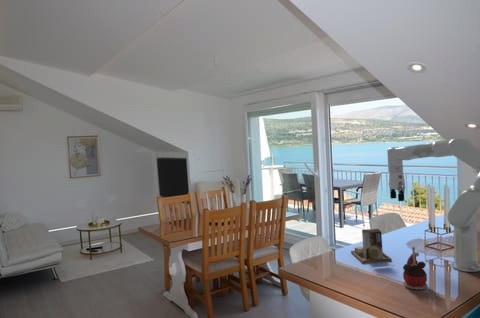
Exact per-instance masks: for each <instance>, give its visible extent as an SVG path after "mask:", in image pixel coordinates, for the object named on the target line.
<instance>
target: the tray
mask: <svg viewBox="0 0 480 318" xmlns="http://www.w3.org/2000/svg"><path fill="white" fill-rule="evenodd" d="M350 254H351V255H352V256H353V257H354V258H355V259H356V260H358V261H359V262H360V264H373V263H374V264H375V263H385V262H386V263H387V262H389V263H390V262H392V261H393V259H392V258H391V257H390V256H389V255H387V254H386V253H385V252H383V258H382V259H370V260H365V258H364V255H363V256H358V255H357V254H356V253H355V250H351V251H350Z"/></svg>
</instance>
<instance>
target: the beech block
mask: <svg viewBox="0 0 480 318" xmlns="http://www.w3.org/2000/svg"><path fill="white" fill-rule="evenodd" d="M354 251H355V253H356V254H357V255H358V256H363V255H364V252H363V246H360V245H359V246H355V247H354Z"/></svg>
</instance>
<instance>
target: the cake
mask: <svg viewBox="0 0 480 318" xmlns="http://www.w3.org/2000/svg"><path fill="white" fill-rule="evenodd" d="M411 250H412V253H411V254H410V256H409V257H408V259H407V260H406V263H405V264H404V265H403V266H402V267H403V268H402V269H403V274H402V276H403V280H404V281H403V285H404V287H406V288H408V289H411V290H412V289H413V290H423V289H424V290H425V289H426V288H428V284H427V282H428V281H427V280H428V276H427V275H428V274H427V273H426V271H425V267H426V263H425V262H424V261H421V260H420V261H418V260H417V257H419V256H420V253H419V252H418V251H416V250H415V247H414V246H412V249H411Z"/></svg>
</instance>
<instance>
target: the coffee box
mask: <svg viewBox="0 0 480 318" xmlns="http://www.w3.org/2000/svg"><path fill="white" fill-rule="evenodd" d="M361 233H362V235H361V236H362V247H363V252H364V258H365V260H370V259H382V258H383V253H384V252H383V239H382V231H381V229H379V228H370V229H369V228H367V229H361Z"/></svg>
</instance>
